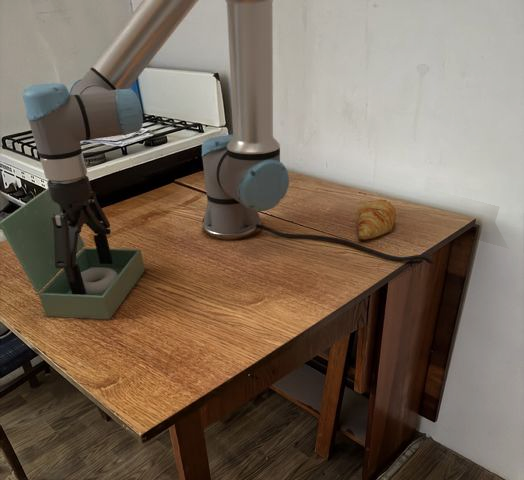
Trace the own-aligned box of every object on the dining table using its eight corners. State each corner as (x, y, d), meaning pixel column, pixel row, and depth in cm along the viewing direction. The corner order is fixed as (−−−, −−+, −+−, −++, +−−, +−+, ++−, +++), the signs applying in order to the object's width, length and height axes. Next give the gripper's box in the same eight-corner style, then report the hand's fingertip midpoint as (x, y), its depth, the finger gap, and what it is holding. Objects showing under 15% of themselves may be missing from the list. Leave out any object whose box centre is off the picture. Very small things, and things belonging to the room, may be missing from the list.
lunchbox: (145, 270, 115) (140, 249, 112) (109, 319, 99) (103, 297, 96) (89, 267, 117) (84, 247, 114) (46, 316, 101) (38, 294, 98)
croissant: (371, 258, 123) (389, 233, 117) (338, 234, 123) (354, 209, 117) (394, 223, 137) (411, 201, 132) (364, 203, 138) (380, 179, 132)
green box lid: (56, 183, 106) (53, 183, 106) (1, 222, 89) (-3, 223, 90) (85, 245, 114) (82, 246, 114) (39, 291, 98) (35, 292, 98)
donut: (64, 294, 107) (97, 305, 102) (59, 280, 105) (92, 291, 100) (99, 274, 114) (131, 284, 109) (95, 261, 111) (127, 270, 107)
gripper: (78, 157, 104) (101, 251, 116) (12, 200, 84) (48, 307, 97) (112, 158, 103) (131, 252, 115) (53, 202, 83) (84, 309, 96)
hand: (93, 277), depth 106 cm, fingers open, 13 cm apart
